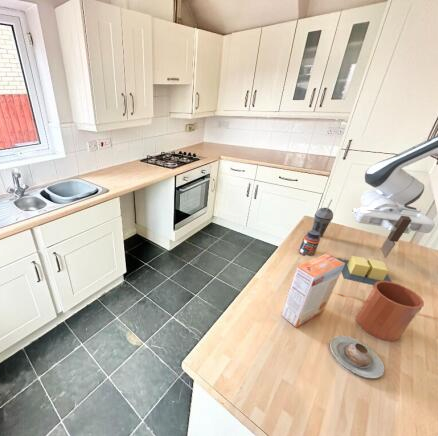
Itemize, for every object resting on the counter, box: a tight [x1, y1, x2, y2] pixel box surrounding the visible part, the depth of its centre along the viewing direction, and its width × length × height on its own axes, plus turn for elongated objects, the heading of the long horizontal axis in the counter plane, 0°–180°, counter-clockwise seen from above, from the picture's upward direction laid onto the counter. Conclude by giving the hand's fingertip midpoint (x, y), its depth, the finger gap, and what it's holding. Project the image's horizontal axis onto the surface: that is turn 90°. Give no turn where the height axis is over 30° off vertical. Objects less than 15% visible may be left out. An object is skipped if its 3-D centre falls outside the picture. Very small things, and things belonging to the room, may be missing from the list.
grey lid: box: [329, 335, 385, 379], centre depth 66 cm, size 12×12×5 cm
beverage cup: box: [311, 199, 334, 238], centre depth 116 cm, size 7×7×20 cm
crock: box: [355, 281, 425, 342], centre depth 73 cm, size 10×10×14 cm
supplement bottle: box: [298, 229, 321, 257], centre depth 106 cm, size 6×6×11 cm
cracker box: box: [280, 253, 345, 328], centre depth 76 cm, size 14×6×21 cm, turn 115°
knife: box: [380, 216, 412, 259], centre depth 82 cm, size 2×5×15 cm, turn 156°
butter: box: [347, 255, 389, 281], centre depth 95 cm, size 10×6×5 cm, turn 66°
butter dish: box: [336, 257, 393, 286], centre depth 96 cm, size 16×14×1 cm
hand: (400, 230), depth 79 cm, fingers closed on knife, 2 cm apart
